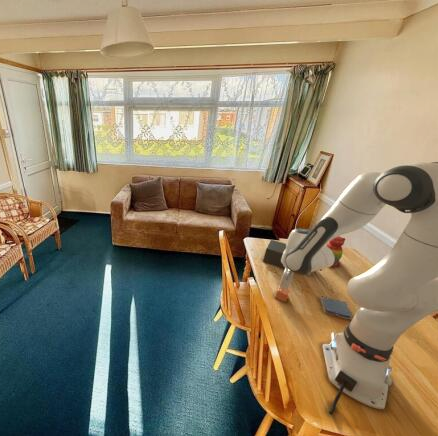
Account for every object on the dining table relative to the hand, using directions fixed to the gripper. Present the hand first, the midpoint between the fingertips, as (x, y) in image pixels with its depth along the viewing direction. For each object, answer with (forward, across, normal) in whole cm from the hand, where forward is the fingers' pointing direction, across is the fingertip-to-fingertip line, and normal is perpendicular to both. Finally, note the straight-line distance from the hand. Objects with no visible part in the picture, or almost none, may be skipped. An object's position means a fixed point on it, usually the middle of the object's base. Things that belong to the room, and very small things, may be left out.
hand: (284, 283), depth 109 cm
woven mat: (+8, +7, -22) cm, 24 cm away
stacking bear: (+9, +49, -18) cm, 52 cm away
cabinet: (+9, +32, +6) cm, 33 cm away
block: (+8, 0, 0) cm, 8 cm away
